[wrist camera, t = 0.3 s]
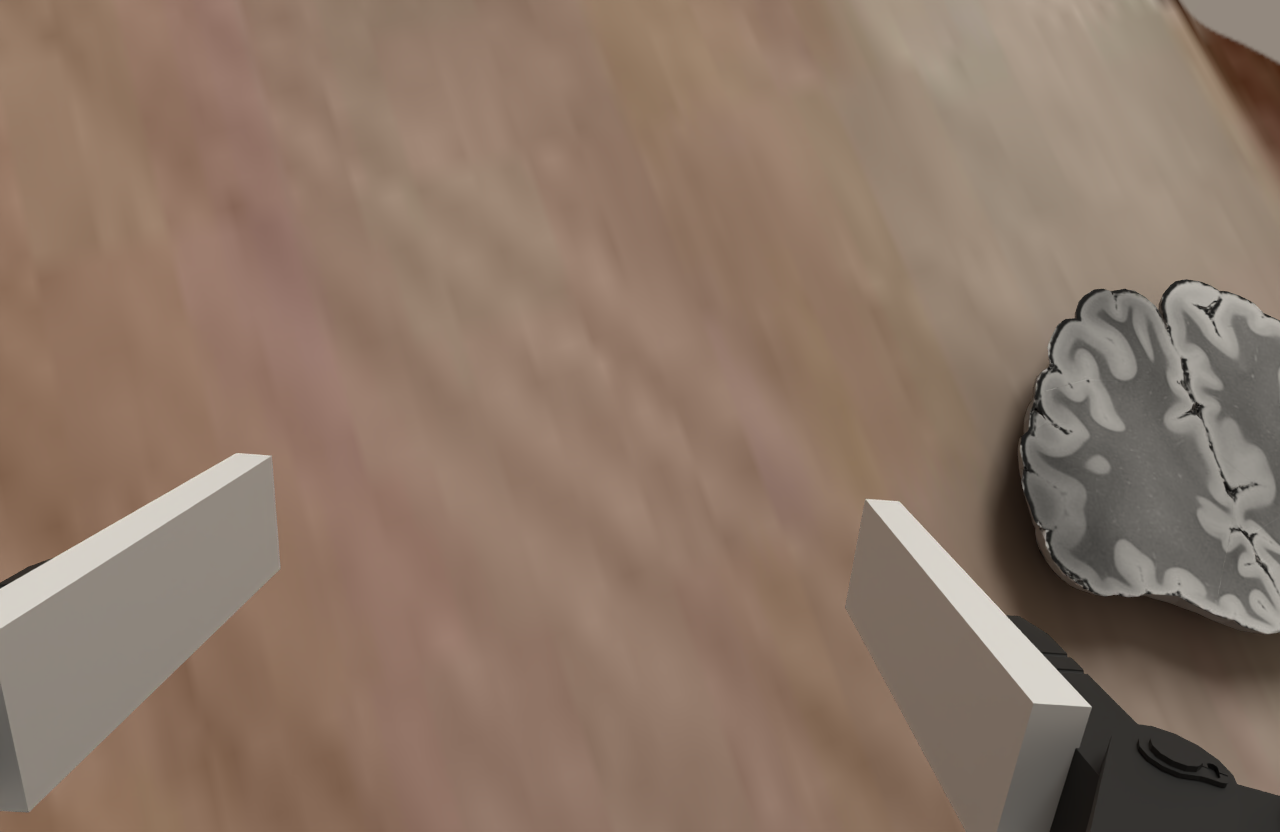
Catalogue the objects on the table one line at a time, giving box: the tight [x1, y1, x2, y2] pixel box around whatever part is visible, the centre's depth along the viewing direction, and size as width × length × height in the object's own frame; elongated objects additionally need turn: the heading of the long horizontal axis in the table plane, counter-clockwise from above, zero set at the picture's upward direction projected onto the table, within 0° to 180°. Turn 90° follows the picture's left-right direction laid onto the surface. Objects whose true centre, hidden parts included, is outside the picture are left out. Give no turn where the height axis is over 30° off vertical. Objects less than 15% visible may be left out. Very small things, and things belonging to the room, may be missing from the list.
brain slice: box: [1017, 279, 1280, 635], centre depth 33 cm, size 20×17×3 cm
